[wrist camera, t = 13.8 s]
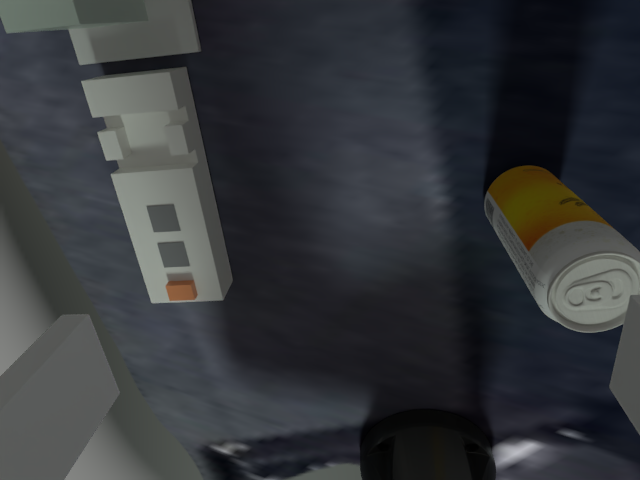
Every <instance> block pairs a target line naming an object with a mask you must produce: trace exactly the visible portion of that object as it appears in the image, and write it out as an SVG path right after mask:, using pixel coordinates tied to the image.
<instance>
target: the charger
mask: <svg viewBox="0 0 640 480" xmlns="http://www.w3.org/2000/svg"><path fill="white" fill-rule="evenodd" d="M0 17H1V20H2V22H3V25H4V28H5V31H6V33H19V32H35V31H50V30H65V29H81V28H94V27H102V26H110V25H119V24H127V23H135V22H144V21H149V20H148V15H147V11H146V7H145V3H144V0H0Z"/></svg>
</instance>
